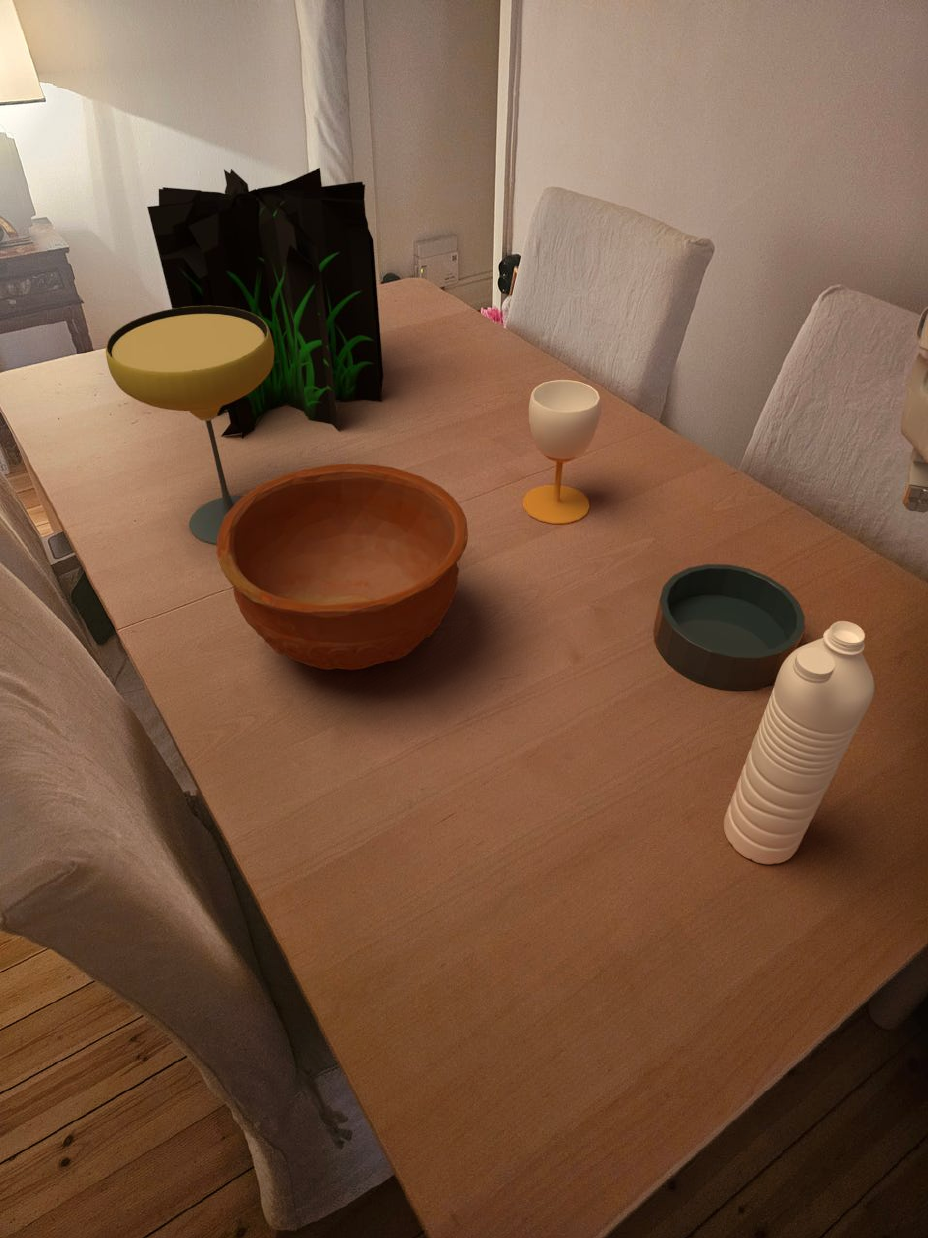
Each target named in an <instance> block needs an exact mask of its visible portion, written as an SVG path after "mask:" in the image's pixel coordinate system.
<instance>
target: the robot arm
mask: <svg viewBox="0 0 928 1238" xmlns="http://www.w3.org/2000/svg"><path fill="white" fill-rule="evenodd" d="M915 338H916V340H918V349H917V352H916V354H915V359H914V362H913V364H912V365H913V366H912V369H911V373H910V377H909V381H908V384H907V390H906V392H905V393H906V394H905V397H904V401H903V406H902V410H901V417H900V433H901V435H902V436H903V437H904V438H905V439H906V440H907V442H908V443H909V444H910V445H911V446H912V451H911V454H910V457H909V466H908V474H907V484H906V485H905V489H904V492H903V495H902V498H901V502H902V504H903V505H904V507H905V509H906V510H908V511H909V512H910V511H911V512H918V513H923V514H924V513H926V512H928V306H927V307H925V308H924V310H923V311H922V313H921V314H920V317H919V320H918V323H917V325H916V329H915Z"/></svg>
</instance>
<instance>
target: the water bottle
mask: <svg viewBox="0 0 928 1238" xmlns="http://www.w3.org/2000/svg"><path fill="white" fill-rule="evenodd" d="M865 638H866V633H865V632H864V630H863V629H862V628H861V626H859V625H858V624H856V623H853V622H851V621H847V620H839V621H835V622H834V623H832V624H831V625H830V626H829V628H828V629H826V630H825V631H824V632H823V636H822V637H821V638H819V639H816V640H813V641H811V642H809V643H806V644H804V645H802V646H800V647H798V648H797V649H796V650H795V651H793V652H792V653H791V654H790V655H789V656H788V657H787V658H786V660H785V661H784V663H783V664H782V666H781V668H780V671H779V673H778V675H777V678H776V681H775V682H774V685H773V688H772V691H771V693H770V696H769V698H768V702H767V704H766V705H765V710H764V712H763V715H762V717H761V719H760V723H759V726H758V728H757V731H756V733H755V735H754V738H753V740H752V743H751V746H750V749H749V751H748V754H747V756H746V758H745V762H744V765H743V767H742V770H741V772H740V776H739V777H738V780H737V783H736V786H735V790H734V791H733V793H732V796H731V799H730V802H729V804H728V807H727V809H726V813H725V815H724V817H723V818H724V819H723V831H724V834H725V837H726V840H727V841H728V843H729V844H731V845H732V847H733V849H734V851H736V853H738V854H740V855H741V856H743V857H744V858H746V859H748V860H752V862H754V863H758V864H763V865H774V864H781V863H784V862H786V861H788V860H789V859H791V858H792V857H793V856H794V854H795V853H797V850H798V849H799V847H800V845H801V842H802V841H803V838H804V836H805V834H806V832H807V830H808V828H809V826H810V824H811V822H812V820H813V819H814V817H815V815H816V812H817V810H818V808H819V806H820V805H821V802H822V800H823V798H824V795H825V794H826V792H827V790H828V789H829V787H830V785H831V781H832V780H833V778H834V776H836V773H837V771H838V768H839V766H840V763H841V761H842V760H843V758H844V756H845V754H846V752H847V750H848V748H849V746H850V744H851V741H852V740H853V738H854V736H855V734H856V732H857V730H858V727H859V726H860V725H861V722H862V719H863V718H864V716H865V715H866V713H867V711H868V709H869V707H870V706H871V704H872V701H873V697H874V695H875V682H874V677H873V673H872V671H871V668H870V666H869V664H868V661H867V660H866V658H865V655H864V654H863V651H864V650H865V647H866V643H865Z"/></svg>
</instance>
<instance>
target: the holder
mask: <svg viewBox="0 0 928 1238" xmlns="http://www.w3.org/2000/svg"><path fill="white" fill-rule="evenodd" d="M654 619H655V620H654V623H653V641H654V643H655V647H656V649H657V651H658V653H659V654H660V656H661V657H662V658H663V660H664V661H665V662H666V663H667V664H668V665H669V666H670V667H671V668H672V669H673V670H675V671H676V672H677V673H678V674H680V675H682V676H683V677H685V678H687V679H689V680H691V681H692V682H695V683H697V684H700V685H702V686H706V687H709V688H713V689H716V690H722V691H732V692H733V691H734V692H742V691H745V692H746V691H752V690H758V689H761V688H765V687H767V686H769V685H772V684H773V683H775V682H776V678H777V675H778V673H779V671H780V668H781V666H782V664H783V663H784V661H785V660H786V658H787V657H788V656H789V655H790V654H791V653H792V652H793V651H795V650H796V649H798V648H799V645H800V642H801V639H802V637H803V635H804V632H805V622H806V616H805V614H804V610H803V609H802V607H801V604H800V602H799V600H797V598H796V597H795V596H794V595H793V594H792V593H791V591H789V590H788V588H787V587H785V586H784V585H782V584H781V583H779V582H778V581H776V580H775V579H773V578H772V577H771V576H768V575H767V574H763V573H761V572H758V571H756V570H754V569H751V568H748V567H743V566H738V565H734V564H730V563H729V564H726V563H722V564H721V563H706V564H700V565H695V566H691V567H687V568H685V569H683V570H681V571H679V572H677V573H675V574H673V575H672V576H671V577H670V578H669V580H667V581H666V582H665V584H664V585H663V587H662V588H661V593H660V596H659V600H658V606H657V610H656V614H655V618H654Z"/></svg>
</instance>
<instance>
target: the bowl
mask: <svg viewBox="0 0 928 1238" xmlns="http://www.w3.org/2000/svg"><path fill="white" fill-rule="evenodd" d="M468 530H469V529H468V521H467V517H466V515H465V512H464V510H463V507H461V506H460V504H459V502H457V500H456V499H455V498H454V497H453V496H452V495H451V494H450V493H449V492H448V491H447V490H446V489H444V488H443V487H442V486H440V485H439V484H436V483H435V482H433V481H431V480H429V479H427V478H425V477H423V476H420V475H418V474H415V473H412V472H409V471H406V470H402V469H399V468H395V467H393V466H386V465H379V464H371V463H370V464H369V463H362V464H361V463H338V464H326V465H322V466H316V467H311V468H305V469H301V470H297V471H294V472H290V473H286V474H283V475H280V476H278V477H275V478H273V479H271V480H268V481H266V482H263V483H261V484H260V485H258V486H257V487H256V488H254V489H253V490H251V491H249V492H248V493H247V494H245V495H244V497H242V498H241V499H239V501H238V502H237V503H236V504H235V505H234V506H233V507H232V509H231V510H230V511H229V512H228V513H227V515H226V516H225V517H224V520H223V522H222V525H221V527H220V530H219V533H218V536H217V544H216V556H217V559H218V563H219V567H220V570H221V571H222V573H223V574H224V576H225V577H226V579H227V580H228V582H229V583H230V584H231V585H232V590H233V595H234V599H235V602H236V604H237V605H238V608H239V612H240V613H241V615H242V617H243V618H244V620H245V621H246V623H247V624H248V625H249V626H250V627H251V628H252V629H253V630H254V631H255V633H256V634H257V635H258V636H260V637H261V638H262V639H263V641H264V642H265V643H267V644H268V645H269V646H270V647H271V649H273V651H274V652H275V653H276V654H278V655H283V654H284V655H286V656H288V657H289V658H290V659H293V660H295V661H297V662H299V663H302V664H306V665H308V666H312V667H316V668H319V669H322V670H334V669H341V670H353V671H354V670H361V669H365V668H370V667H372V666H374V665H376V664H382V663H385V662H393V661H397V660H399V659H402V658H404V657H405V656H407V655H408V654H409V653H410V652H412V651H413V650H414V649H415V648H416V647H417V646H418V645H419V644H420V643H421V642H423V640H424V639H425V638H430V637H431V636H432V635H433V633H434V632H435V630H436V628H437V627H439V626H440V624H441V623H442V622H441V621H442V620H443V618H444V616H445V615H446V613H447V612H448V610H449V608H450V606H451V604H452V601H453V600H454V598H455V594H456V590H457V586H458V577H459V572H460V570H459V566H458V562H459V561H460V559H461V558H462V555H463V554H464V552H465V550H466V548H467V545H468V540H469V531H468Z"/></svg>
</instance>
